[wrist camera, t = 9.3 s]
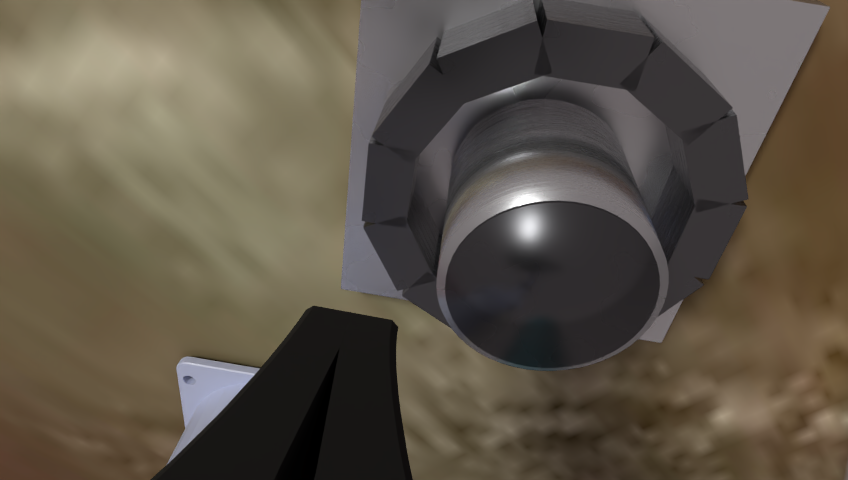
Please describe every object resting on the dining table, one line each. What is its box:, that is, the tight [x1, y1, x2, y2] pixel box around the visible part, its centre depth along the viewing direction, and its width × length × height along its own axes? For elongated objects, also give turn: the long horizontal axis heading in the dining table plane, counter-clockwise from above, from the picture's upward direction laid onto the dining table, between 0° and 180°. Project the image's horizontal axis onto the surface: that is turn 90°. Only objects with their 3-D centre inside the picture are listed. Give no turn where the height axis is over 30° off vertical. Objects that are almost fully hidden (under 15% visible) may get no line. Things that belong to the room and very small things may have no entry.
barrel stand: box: [341, 0, 830, 343], centre depth 17 cm, size 11×11×3 cm
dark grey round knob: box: [436, 99, 669, 371], centre depth 15 cm, size 5×5×5 cm
